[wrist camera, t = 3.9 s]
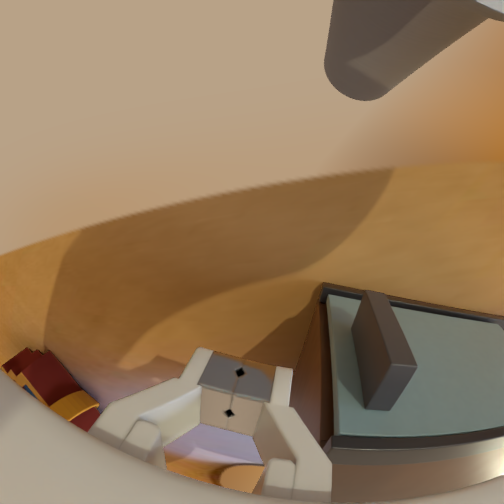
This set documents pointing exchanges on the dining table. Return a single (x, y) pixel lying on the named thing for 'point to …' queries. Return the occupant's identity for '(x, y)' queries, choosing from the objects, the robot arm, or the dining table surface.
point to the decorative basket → (52, 386)
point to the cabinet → (387, 449)
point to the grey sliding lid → (412, 371)
